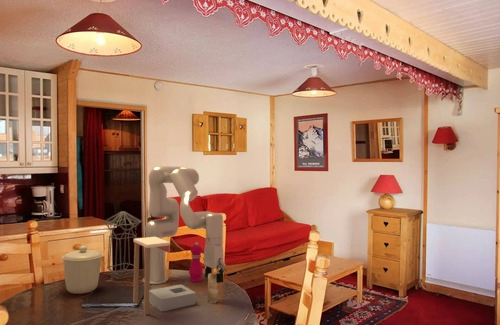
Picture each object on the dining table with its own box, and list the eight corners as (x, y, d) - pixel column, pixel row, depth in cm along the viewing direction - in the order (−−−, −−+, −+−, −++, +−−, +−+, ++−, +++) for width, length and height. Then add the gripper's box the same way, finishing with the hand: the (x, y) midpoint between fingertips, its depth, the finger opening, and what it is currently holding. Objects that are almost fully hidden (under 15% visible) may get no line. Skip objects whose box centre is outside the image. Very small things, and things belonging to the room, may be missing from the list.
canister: (60, 298, 174) (61, 251, 174) (61, 287, 191) (62, 243, 191) (103, 294, 181) (104, 248, 182) (101, 283, 198) (102, 241, 198)
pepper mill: (200, 283, 202) (200, 243, 202) (186, 281, 204) (187, 243, 204) (204, 279, 209) (205, 241, 209) (191, 277, 211) (192, 240, 211)
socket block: (147, 301, 173) (148, 290, 173) (180, 295, 183) (181, 284, 183) (161, 311, 162) (161, 299, 162) (195, 304, 171) (195, 292, 171)
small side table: (131, 304, 169) (133, 238, 169) (153, 300, 175) (155, 236, 175) (145, 315, 157) (146, 244, 157) (168, 310, 163) (170, 242, 163)
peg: (205, 300, 176) (206, 274, 176) (214, 299, 178) (214, 272, 178) (210, 303, 172) (211, 276, 172) (219, 301, 175) (220, 274, 175)
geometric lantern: (143, 276, 211) (143, 211, 211) (115, 283, 200) (116, 214, 199) (127, 270, 222) (128, 208, 221) (101, 276, 211) (101, 211, 210)
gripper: (197, 239, 180) (196, 276, 180) (217, 245, 166) (217, 285, 166) (211, 237, 185) (211, 274, 184) (232, 243, 171) (231, 283, 170)
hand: (213, 279), depth 175 cm, fingers open, 9 cm apart
